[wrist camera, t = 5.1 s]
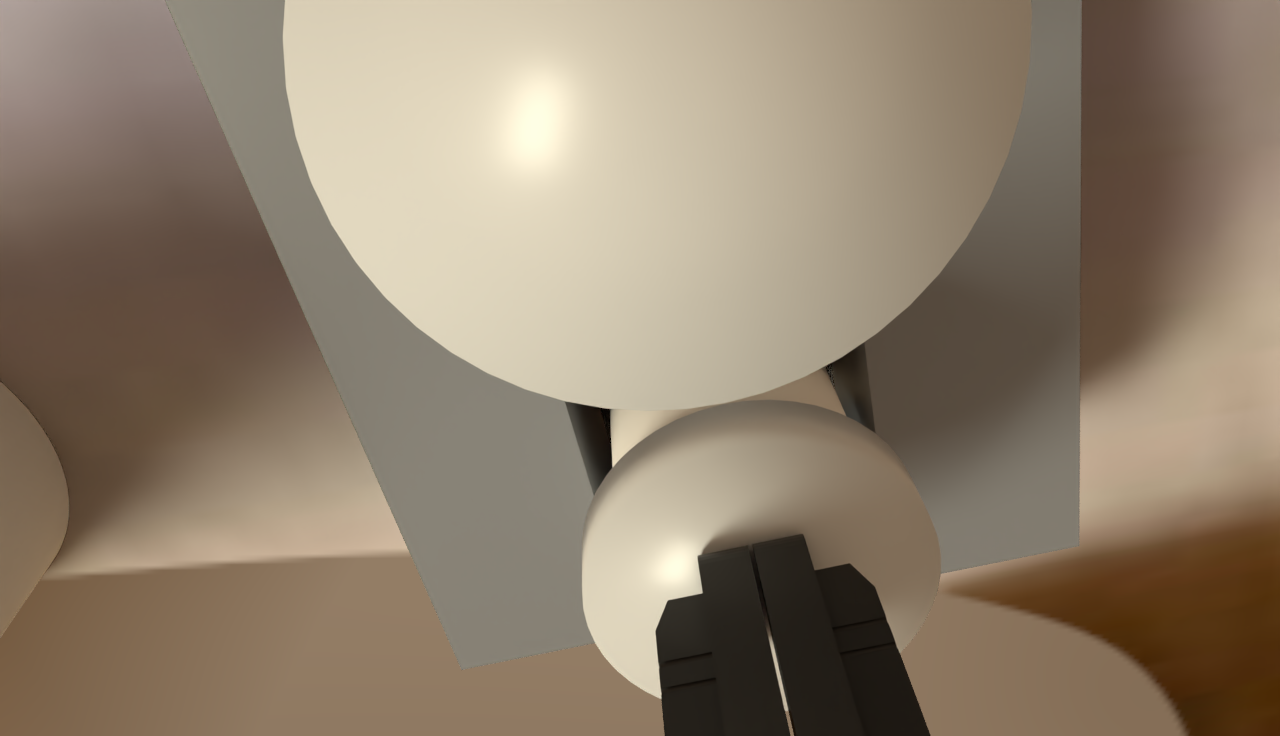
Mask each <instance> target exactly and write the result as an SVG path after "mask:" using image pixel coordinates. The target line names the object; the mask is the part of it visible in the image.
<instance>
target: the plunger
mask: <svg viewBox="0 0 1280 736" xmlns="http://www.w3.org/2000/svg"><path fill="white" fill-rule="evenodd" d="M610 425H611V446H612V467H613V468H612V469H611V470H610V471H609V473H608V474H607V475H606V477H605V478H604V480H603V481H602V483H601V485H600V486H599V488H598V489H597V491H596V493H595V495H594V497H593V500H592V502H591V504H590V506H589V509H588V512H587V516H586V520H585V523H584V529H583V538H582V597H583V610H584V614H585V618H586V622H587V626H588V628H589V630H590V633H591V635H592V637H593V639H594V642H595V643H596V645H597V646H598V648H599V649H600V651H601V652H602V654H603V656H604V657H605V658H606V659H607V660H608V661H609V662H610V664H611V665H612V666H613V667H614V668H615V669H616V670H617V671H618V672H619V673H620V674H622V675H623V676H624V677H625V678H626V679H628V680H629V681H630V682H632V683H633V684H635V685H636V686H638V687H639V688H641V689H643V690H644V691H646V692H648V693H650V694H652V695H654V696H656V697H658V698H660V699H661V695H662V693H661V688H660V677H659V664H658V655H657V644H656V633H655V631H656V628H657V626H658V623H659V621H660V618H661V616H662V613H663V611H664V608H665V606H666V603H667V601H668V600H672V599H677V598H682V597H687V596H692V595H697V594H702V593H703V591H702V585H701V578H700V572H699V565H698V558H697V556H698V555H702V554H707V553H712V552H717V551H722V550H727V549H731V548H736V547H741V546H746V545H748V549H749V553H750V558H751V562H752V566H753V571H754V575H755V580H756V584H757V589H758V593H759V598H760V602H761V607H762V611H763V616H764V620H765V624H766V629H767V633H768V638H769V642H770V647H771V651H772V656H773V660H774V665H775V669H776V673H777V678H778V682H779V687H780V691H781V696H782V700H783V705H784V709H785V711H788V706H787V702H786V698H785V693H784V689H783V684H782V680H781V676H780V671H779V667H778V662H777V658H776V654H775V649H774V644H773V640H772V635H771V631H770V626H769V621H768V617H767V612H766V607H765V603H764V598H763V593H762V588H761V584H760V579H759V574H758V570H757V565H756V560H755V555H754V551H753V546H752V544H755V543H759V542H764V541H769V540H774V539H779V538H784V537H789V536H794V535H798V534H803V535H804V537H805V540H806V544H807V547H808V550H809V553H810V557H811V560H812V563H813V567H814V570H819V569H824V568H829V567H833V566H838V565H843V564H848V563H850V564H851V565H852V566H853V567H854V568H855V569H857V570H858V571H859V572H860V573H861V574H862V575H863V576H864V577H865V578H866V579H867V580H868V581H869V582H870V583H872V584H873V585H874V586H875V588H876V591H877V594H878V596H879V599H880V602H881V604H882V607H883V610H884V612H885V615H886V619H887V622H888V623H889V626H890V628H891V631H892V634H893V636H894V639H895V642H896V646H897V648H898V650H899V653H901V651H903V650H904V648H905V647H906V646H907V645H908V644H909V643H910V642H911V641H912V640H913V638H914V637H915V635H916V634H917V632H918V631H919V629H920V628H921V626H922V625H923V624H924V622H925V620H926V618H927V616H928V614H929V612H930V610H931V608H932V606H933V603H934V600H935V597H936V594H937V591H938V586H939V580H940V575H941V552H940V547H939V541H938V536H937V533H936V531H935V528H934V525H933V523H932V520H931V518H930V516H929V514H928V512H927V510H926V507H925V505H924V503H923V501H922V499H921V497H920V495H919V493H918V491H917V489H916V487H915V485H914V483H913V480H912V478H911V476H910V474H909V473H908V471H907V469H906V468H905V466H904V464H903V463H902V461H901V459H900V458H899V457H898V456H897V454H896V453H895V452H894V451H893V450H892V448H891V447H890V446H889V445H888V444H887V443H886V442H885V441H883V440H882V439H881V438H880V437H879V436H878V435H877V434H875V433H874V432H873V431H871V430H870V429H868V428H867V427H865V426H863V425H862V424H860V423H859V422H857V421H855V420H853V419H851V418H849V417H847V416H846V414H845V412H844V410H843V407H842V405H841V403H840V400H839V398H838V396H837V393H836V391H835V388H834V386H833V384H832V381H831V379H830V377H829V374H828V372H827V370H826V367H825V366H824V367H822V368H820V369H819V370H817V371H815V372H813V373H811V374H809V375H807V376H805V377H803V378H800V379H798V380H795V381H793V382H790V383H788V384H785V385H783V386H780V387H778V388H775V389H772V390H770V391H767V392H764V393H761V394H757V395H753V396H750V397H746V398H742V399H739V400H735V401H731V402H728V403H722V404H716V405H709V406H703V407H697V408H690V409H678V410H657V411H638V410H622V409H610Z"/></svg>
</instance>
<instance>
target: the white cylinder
mask: <svg viewBox="0 0 1280 736" xmlns="http://www.w3.org/2000/svg"><path fill="white" fill-rule="evenodd" d="M68 520H69V495H68V488H67V483H66V479H65V475H64V472H63V468H62V466H61V463H60V461H59V458H58V456H57V454H56V452H55V450H54V448H53V446H52V444H51V442H50V440H49V438H48V437H47V435H46V433H45V432H44V430H43V429H42V427H41V426H40V425H39V423H38V422H37V420H36V419H35V418H34V416H33V415H32V414H31V413H30V411H29V410H28V409H27V408H26V407H25V406H24V404H23V403H22V402H21V401H20V400H19V399H18V398H17V397H16V396H15V395H14V394H13V393H12V392H11V391H10V390H9V389H8V388H7V387H6V386H5V385H4V384H3V383H1V382H0V637H1V636H2V634H3V633H4V631H5V630H6V629H7V627H8V626H9V624H10V623H11V621H12V620H13V618H14V617H15V615H16V614H17V612H18V611H19V610H20V608H21V607H22V605H23V604H24V602H25V601H26V599H27V598H28V597H29V595H30V593H31V592H32V591H33V589H34V588H35V586H36V585H37V583H38V582H39V580H40V579H41V578H42V576H43V575H44V573H45V572H46V570H47V569H48V567H49V566H50V564H51V563H52V561H53V560H54V558H55V557H56V555H57V554H58V552H59V550H60V548H61V546H62V543H63V540H64V538H65V535H66V531H67V527H68Z"/></svg>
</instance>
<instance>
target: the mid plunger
mask: <svg viewBox="0 0 1280 736" xmlns="http://www.w3.org/2000/svg"><path fill="white" fill-rule="evenodd" d="M1031 22H1032V8H1031V0H285V9H284V25H283V50H284V65H285V80H286V91H287V96H288V101H289V106H290V111H291V116H292V121H293V126H294V131H295V136H296V139H297V142H298V145H299V148H300V151H301V154H302V157H303V160H304V163H305V166H306V169H307V172H308V175H309V178H310V181H311V183H312V185H313V188H314V190H315V192H316V194H317V196H318V198H319V200H320V202H321V204H322V206H323V208H324V210H325V212H326V214H327V216H328V219H329V221H330V223H331V225H332V226H333V228H334V229H335V231H336V232H337V234H338V236H339V237H340V239H341V240H342V242H343V243H344V245H345V246H346V248H347V249H348V251H349V253H350V254H351V256H352V257H353V259H354V260H355V262H356V263H357V264H358V266H359V267H360V268H361V269H362V270H363V272H364V273H365V274H366V275H367V276H368V278H369V279H370V280H371V281H372V282H373V284H374V285H375V286H376V287H377V288H378V290H379V291H380V292H381V293H382V294H383V296H384V297H385V298H386V299H387V300H388V301H389V302H391V303H392V304H393V305H394V306H395V307H396V308H397V309H398V310H399V311H400V312H401V313H402V314H403V315H404V316H405V317H406V318H408V319H409V320H410V321H411V322H412V323H413V324H414V325H415V326H416V327H417V328H419V329H420V330H421V331H423V332H424V333H425V334H427V335H428V336H429V337H431V338H432V339H434V340H435V341H436V342H438V343H439V344H440V345H442V346H443V347H444V348H446V349H447V350H448V351H450V352H451V353H453V354H455V355H456V356H458V357H460V358H462V359H463V360H465V361H467V362H469V363H470V364H472V365H474V366H476V367H477V368H479V369H481V370H483V371H484V372H486V373H488V374H490V375H493V376H495V377H497V378H500V379H502V380H505V381H507V382H509V383H512V384H514V385H516V386H519V387H521V388H523V389H526V390H529V391H532V392H536V393H539V394H542V395H546V396H549V397H552V398H556V399H559V400H563V401H567V402H572V403H578V404H583V405H589V406H595V407H600V408H607V409H622V410H638V411H657V410H678V409H690V408H697V407H703V406H709V405H716V404H722V403H728V402H731V401H735V400H739V399H742V398H746V397H750V396H753V395H757V394H761V393H764V392H767V391H770V390H772V389H775V388H778V387H780V386H783V385H785V384H788V383H790V382H793V381H795V380H798V379H800V378H803V377H805V376H807V375H809V374H811V373H813V372H815V371H817V370H819V369H820V368H822V367H824V366H826V365H828V364H830V363H832V362H834V361H836V360H837V359H839V358H841V357H843V356H844V355H846V354H847V353H849V352H850V351H852V350H853V349H855V348H856V347H858V346H859V345H861V344H862V343H864V342H865V341H866V340H868V339H869V338H871V337H872V336H874V335H875V334H877V333H878V332H879V331H880V330H882V329H883V328H884V327H885V326H886V325H887V324H889V323H890V322H891V321H892V320H893V319H894V318H896V317H897V316H898V315H899V314H900V313H901V312H903V311H904V310H905V309H906V308H907V307H909V306H910V305H911V304H912V302H913V301H914V300H915V299H916V298H917V297H918V296H919V295H920V294H921V293H922V292H923V291H924V290H925V289H926V288H927V287H928V285H929V284H930V283H931V282H932V281H933V280H934V279H935V278H936V277H937V276H938V275H939V274H940V272H941V271H942V270H943V268H944V267H945V266H946V264H947V263H948V262H949V260H950V259H951V258H952V256H953V255H954V254H955V252H956V251H957V250H958V248H959V247H960V246H961V244H962V243H963V242H964V240H965V239H966V238H967V236H968V234H969V232H970V231H971V229H972V227H973V226H974V224H975V222H976V220H977V219H978V217H979V215H980V213H981V212H982V210H983V208H984V207H985V205H986V203H987V201H988V200H989V198H990V196H991V193H992V191H993V189H994V186H995V184H996V182H997V180H998V177H999V175H1000V173H1001V170H1002V168H1003V166H1004V163H1005V161H1006V159H1007V157H1008V154H1009V150H1010V147H1011V144H1012V140H1013V137H1014V134H1015V130H1016V127H1017V124H1018V120H1019V117H1020V114H1021V110H1022V104H1023V99H1024V93H1025V87H1026V81H1027V75H1028V69H1029V63H1030V44H1031Z"/></svg>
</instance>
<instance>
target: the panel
mask: <svg viewBox="0 0 1280 736" xmlns="http://www.w3.org/2000/svg"><path fill="white" fill-rule="evenodd" d="M165 2H166V4H167V6H168V9H169V11H170V13H171V15H172V18H173V20H174V22H175V24H176V27H177V29H178V31H179V33H180V36H181V38H182V40H183V42H184V45H185V47H186V49H187V51H188V54H189V56H190V58H191V60H192V63H193V65H194V67H195V69H196V72H197V74H198V76H199V78H200V81H201V83H202V85H203V87H204V90H205V92H206V94H207V97H208V99H209V101H210V103H211V106H212V108H213V110H214V112H215V115H216V117H217V119H218V121H219V124H220V126H221V128H222V130H223V133H224V135H225V137H226V139H227V142H228V144H229V146H230V148H231V151H232V153H233V155H234V157H235V160H236V162H237V164H238V166H239V169H240V171H241V173H242V175H243V178H244V180H245V182H246V184H247V187H248V189H249V191H250V194H251V196H252V198H253V200H254V203H255V205H256V207H257V209H258V212H259V214H260V216H261V218H262V221H263V223H264V225H265V227H266V230H267V232H268V234H269V236H270V239H271V241H272V243H273V245H274V248H275V250H276V252H277V254H278V257H279V259H280V261H281V263H282V266H283V268H284V270H285V272H286V275H287V277H288V279H289V281H290V284H291V286H292V288H293V290H294V293H295V295H296V297H297V300H298V302H299V304H300V306H301V309H302V311H303V313H304V315H305V318H306V320H307V322H308V324H309V327H310V329H311V331H312V333H313V336H314V338H315V340H316V342H317V345H318V347H319V349H320V351H321V354H322V356H323V358H324V360H325V363H326V365H327V367H328V369H329V372H330V374H331V376H332V378H333V381H334V383H335V385H336V387H337V390H338V392H339V394H340V396H341V399H342V401H343V403H344V406H345V408H346V410H347V412H348V415H349V417H350V419H351V421H352V424H353V426H354V428H355V430H356V433H357V435H358V437H359V439H360V442H361V444H362V446H363V448H364V451H365V453H366V455H367V457H368V460H369V462H370V464H371V466H372V469H373V471H374V473H375V475H376V478H377V480H378V482H379V484H380V487H381V489H382V491H383V493H384V496H385V498H386V500H387V502H388V505H389V507H390V509H391V512H392V514H393V516H394V518H395V521H396V523H397V525H398V527H399V530H400V532H401V534H402V536H403V539H404V541H405V543H406V545H407V548H408V550H409V552H410V554H411V557H412V559H413V561H414V563H415V565H416V568H417V570H418V572H419V575H420V577H421V579H422V581H423V584H424V586H425V588H426V590H427V593H428V595H429V597H430V599H431V602H432V604H433V606H434V609H435V610H436V613H437V615H438V618H439V620H440V622H441V624H442V626H443V629H444V631H445V633H446V636H447V638H448V640H449V642H450V644H451V647H452V649H453V651H454V654H455V656H456V658H457V660H458V662H459V665H460V667H461V669H462V670H463V669H468V668H473V667H478V666H483V665H488V664H493V663H498V662H503V661H508V660H512V659H517V658H523V657H528V656H533V655H538V654H543V653H548V652H553V651H558V650H562V649H568V648H573V647H578V646H583V645H588V644H593V643H595V642H594V639H593V637H592V635H591V633H590V630H589V628H588V626H587V622H586V618H585V614H584V610H583V597H582V538H583V529H584V523H585V520H586V516H587V512H588V509H589V506H590V504H591V502H592V500H593V497H594V495H595V493H596V491H597V489H598V488H599V486H600V485H601V483H602V481H603V480H604V478H605V477H606V475H607V474H608V473H609V471H610V470H611V469H612V468H613V467H612V449H611V445H610V442H609V438H608V435H607V431H606V428H605V424H604V421H603V417H602V414H601V411H600V407H595V406H589V405H583V404H578V403H572V402H567V401H563V400H559V399H556V398H552V397H549V396H546V395H542V394H539V393H536V392H532V391H529V390H526V389H523V388H521V387H519V386H516V385H514V384H512V383H509V382H507V381H505V380H502V379H500V378H497V377H495V376H493V375H490V374H488V373H486V372H484V371H483V370H481V369H479V368H477V367H476V366H474V365H472V364H470V363H469V362H467V361H465V360H463V359H462V358H460V357H458V356H456V355H455V354H453V353H451V352H450V351H448V350H447V349H446V348H444V347H443V346H442V345H440V344H439V343H438V342H436V341H435V340H434V339H432V338H431V337H429V336H428V335H427V334H425V333H424V332H423V331H421V330H420V329H419V328H417V327H416V326H415V325H414V324H413V323H412V322H411V321H410V320H409V319H408V318H406V317H405V316H404V315H403V314H402V313H401V312H400V311H399V310H398V309H397V308H396V307H395V306H394V305H393V304H392V303H391V302H389V301H388V300H387V299H386V298H385V297H384V296H383V294H382V293H381V292H380V291H379V290H378V288H377V287H376V286H375V285H374V284H373V282H372V281H371V280H370V279H369V278H368V276H367V275H366V274H365V273H364V272H363V270H362V269H361V268H360V267H359V266H358V264H357V263H356V262H355V260H354V259H353V257H352V256H351V254H350V253H349V251H348V249H347V248H346V246H345V245H344V243H343V242H342V240H341V239H340V237H339V236H338V234H337V232H336V231H335V229H334V228H333V226H332V225H331V223H330V221H329V219H328V216H327V214H326V212H325V210H324V208H323V206H322V204H321V202H320V200H319V198H318V196H317V194H316V192H315V190H314V188H313V185H312V183H311V181H310V178H309V175H308V172H307V169H306V166H305V163H304V160H303V157H302V154H301V151H300V148H299V145H298V142H297V139H296V136H295V131H294V126H293V121H292V116H291V111H290V106H289V101H288V96H287V91H286V80H285V65H284V50H283V25H284V9H285V0H165ZM1031 8H1032V22H1031V44H1030V63H1029V69H1028V75H1027V81H1026V87H1025V93H1024V99H1023V104H1022V110H1021V114H1020V117H1019V120H1018V124H1017V127H1016V130H1015V134H1014V137H1013V140H1012V144H1011V147H1010V150H1009V154H1008V157H1007V159H1006V161H1005V163H1004V166H1003V168H1002V170H1001V173H1000V175H999V177H998V180H997V182H996V184H995V186H994V189H993V191H992V193H991V196H990V198H989V200H988V201H987V203H986V205H985V207H984V208H983V210H982V212H981V213H980V215H979V217H978V219H977V220H976V222H975V224H974V226H973V227H972V229H971V231H970V232H969V234H968V236H967V238H966V239H965V240H964V242H963V243H962V244H961V246H960V247H959V248H958V250H957V251H956V252H955V254H954V255H953V256H952V258H951V259H950V260H949V262H948V263H947V264H946V266H945V267H944V268H943V270H942V271H941V272H940V274H939V275H938V276H937V277H936V278H935V279H934V280H933V281H932V282H931V283H930V284H929V285H928V287H927V288H926V289H925V290H924V291H923V292H922V293H921V294H920V295H919V296H918V297H917V298H916V299H915V300H914V301H913V302H912V304H911V305H910V306H909V307H907V308H906V309H905V310H904V311H903V312H901V313H900V314H899V315H898V316H897V317H896V318H894V319H893V320H892V321H891V322H890V323H889V324H887V325H886V326H885V327H884V328H883V329H882V330H880V331H879V332H878V333H877V334H875V335H874V336H872V337H871V338H869V339H868V340H866V341H865V342H864V343H862V344H861V345H859V346H858V347H856V348H855V349H853V350H852V351H850V352H849V353H847V354H846V355H844V356H843V357H841V358H839V359H837V360H836V361H834V362H832V363H831V364H832V371H833V378H834V385H835V391H836V393H837V396H838V398H839V400H840V403H841V405H842V407H843V410H844V412H845V414H846V416H847V417H849V418H851V419H853V420H855V421H857V422H859V423H860V424H862V425H863V426H865V427H867V428H868V429H870V430H871V431H873V432H874V433H875V434H877V435H878V436H879V437H880V438H881V439H882V440H883V441H885V442H886V443H887V444H888V445H889V446H890V447H891V448H892V450H893V451H894V452H895V453H896V454H897V456H898V457H899V458H900V459H901V461H902V463H903V464H904V466H905V468H906V469H907V471H908V473H909V474H910V476H911V478H912V480H913V483H914V485H915V487H916V489H917V491H918V493H919V495H920V497H921V499H922V501H923V503H924V505H925V507H926V510H927V512H928V514H929V516H930V518H931V520H932V523H933V525H934V528H935V531H936V533H937V536H938V541H939V547H940V552H941V574H942V573H947V572H952V571H957V570H962V569H967V568H972V567H977V566H982V565H987V564H992V563H997V562H1002V561H1007V560H1012V559H1017V558H1022V557H1027V556H1032V555H1037V554H1042V553H1047V552H1052V551H1057V550H1062V549H1067V548H1072V547H1077V546H1079V488H1080V263H1081V37H1082V0H1031Z"/></svg>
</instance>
